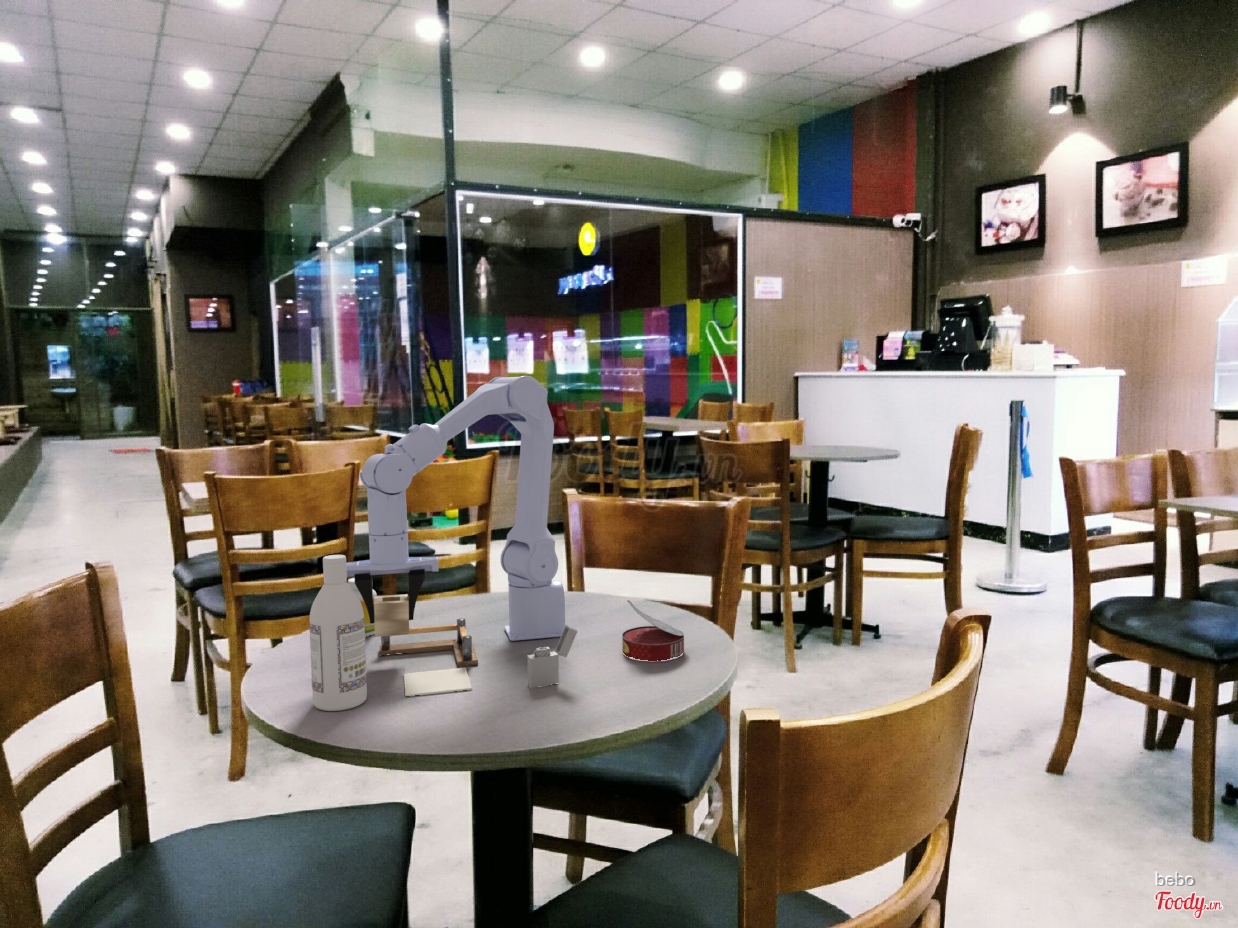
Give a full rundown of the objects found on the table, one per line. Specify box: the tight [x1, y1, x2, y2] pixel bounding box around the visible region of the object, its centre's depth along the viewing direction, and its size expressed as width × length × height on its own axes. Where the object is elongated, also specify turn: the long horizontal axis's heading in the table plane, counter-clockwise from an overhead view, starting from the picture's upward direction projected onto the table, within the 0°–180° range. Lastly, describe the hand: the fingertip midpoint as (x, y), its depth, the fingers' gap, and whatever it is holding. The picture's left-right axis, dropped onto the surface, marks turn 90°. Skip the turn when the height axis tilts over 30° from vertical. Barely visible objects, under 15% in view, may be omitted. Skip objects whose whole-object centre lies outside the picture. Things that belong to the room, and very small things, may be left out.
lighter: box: [526, 624, 578, 689], centre depth 119 cm, size 7×2×8 cm, turn 113°
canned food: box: [621, 599, 685, 661], centre depth 133 cm, size 11×10×10 cm
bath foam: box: [308, 554, 368, 712], centre depth 112 cm, size 7×7×20 cm
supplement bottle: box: [347, 577, 378, 637], centre depth 144 cm, size 5×5×10 cm
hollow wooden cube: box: [374, 593, 410, 638], centre depth 128 cm, size 5×5×5 cm
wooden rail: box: [378, 618, 479, 668], centre depth 131 cm, size 14×12×4 cm
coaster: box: [403, 667, 473, 698], centre depth 120 cm, size 9×9×1 cm
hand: (391, 620), depth 128 cm, fingers closed on hollow wooden cube, 5 cm apart
